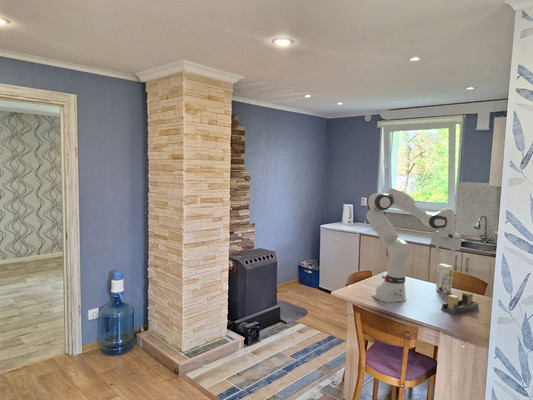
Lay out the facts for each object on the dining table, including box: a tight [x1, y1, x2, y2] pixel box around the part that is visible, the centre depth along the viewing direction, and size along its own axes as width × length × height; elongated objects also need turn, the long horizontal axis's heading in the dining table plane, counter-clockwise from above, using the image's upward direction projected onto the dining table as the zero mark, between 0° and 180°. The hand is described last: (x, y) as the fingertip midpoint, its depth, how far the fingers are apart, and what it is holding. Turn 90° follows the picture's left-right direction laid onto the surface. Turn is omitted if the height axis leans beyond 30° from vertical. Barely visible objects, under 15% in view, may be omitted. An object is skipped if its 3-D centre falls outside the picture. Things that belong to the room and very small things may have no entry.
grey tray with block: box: [440, 294, 480, 316], centre depth 223 cm, size 22×9×10 cm, turn 116°
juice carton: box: [435, 263, 454, 294], centre depth 254 cm, size 8×9×19 cm
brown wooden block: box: [461, 291, 474, 306], centre depth 225 cm, size 5×4×8 cm
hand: (444, 253), depth 243 cm, fingers open, 8 cm apart
